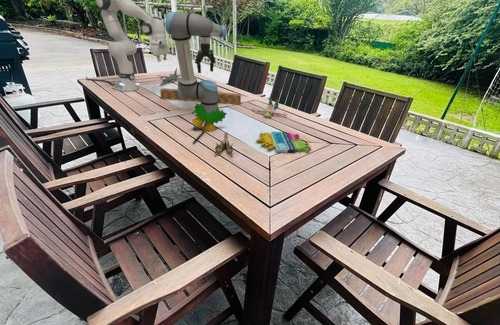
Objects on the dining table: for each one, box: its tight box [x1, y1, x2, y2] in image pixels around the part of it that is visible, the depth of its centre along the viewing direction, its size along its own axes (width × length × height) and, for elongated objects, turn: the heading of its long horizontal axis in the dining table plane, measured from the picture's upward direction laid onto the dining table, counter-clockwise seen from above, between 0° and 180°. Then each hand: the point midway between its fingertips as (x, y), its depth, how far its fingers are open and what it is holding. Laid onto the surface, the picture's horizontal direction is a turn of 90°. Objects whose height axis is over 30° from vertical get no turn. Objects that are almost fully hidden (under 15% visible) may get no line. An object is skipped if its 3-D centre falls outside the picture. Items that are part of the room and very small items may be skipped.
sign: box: [256, 131, 312, 154], centre depth 152 cm, size 26×2×30 cm
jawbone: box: [214, 131, 234, 156], centre depth 136 cm, size 9×15×10 cm
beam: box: [159, 87, 242, 106], centre depth 214 cm, size 65×5×7 cm, turn 87°
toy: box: [250, 97, 288, 118], centre depth 199 cm, size 28×7×30 cm
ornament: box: [191, 101, 228, 132], centre depth 162 cm, size 21×8×15 cm, turn 105°
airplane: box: [156, 67, 181, 87], centre depth 264 cm, size 38×31×10 cm
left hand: (162, 60), depth 203 cm, fingers open, 8 cm apart
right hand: (205, 72), depth 210 cm, fingers open, 13 cm apart
